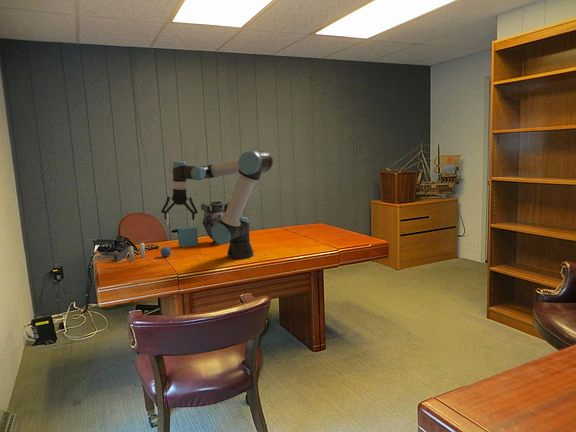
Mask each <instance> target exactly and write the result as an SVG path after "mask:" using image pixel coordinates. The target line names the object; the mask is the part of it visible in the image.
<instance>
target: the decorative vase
mask: <svg viewBox="0 0 576 432" xmlns="http://www.w3.org/2000/svg"><path fill="white" fill-rule="evenodd" d="M229 202H230V201H229ZM229 202H227V203H224V202H223V201H212V202H210V204H207V203H201V204H200V208H201V209H200V210H202V211H204V212H203V221H202V226H203V227H204V229H205V232H206V234H207V235H208V237H209V238H210V239H211V240H213V241H211V243H212V245H215V244H219V243H217V242H216V241H215V240H214V239H213V236H212V233H211V231H212V227H213V226H214V225H215V224H217V223H218V222H219V219H220V217H221V216H222V215H224V214H225V212H226V209H227V207H228V204H229ZM223 206H224V207H223ZM219 245H220V244H219Z"/></svg>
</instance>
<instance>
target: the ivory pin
mask: <svg viewBox="0 0 576 432" xmlns="http://www.w3.org/2000/svg"><path fill="white" fill-rule="evenodd" d="M139 249H140V258H142V259H144V258H146V250H145V249H146V248H145V242H140V243H139Z"/></svg>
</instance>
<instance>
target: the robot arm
mask: <svg viewBox="0 0 576 432" xmlns="http://www.w3.org/2000/svg"><path fill="white" fill-rule="evenodd" d="M187 164H188V163H187V162H186V161H183V160H182V161H181V160H179V161H177V160H176V161H173V163H172V188H173V189H172V196H167V197H166V201H165V204H164V205H163V207H162V209H161V211H160V212H161V213H162V214H163V215H164V220H166V223H165V224H166V226H168V225H169V223H170V222H169V211H170V210H171V209H172V208H173V207H174V206H175V205H176V206H179V205H180V206H183V205H184V206H185V208H187V210H188V211H189V212H190V213H191V214H190V227H193V221H194V220H195V214H198V213H199V211H198V210H197V208H196V206H195V203H194V201H193V197H192V196H190V197H188V196H187V180H193V181H194V180H195V181H203V180H205V179H213V178H218V177H224V176H230V175H236V174H239V176H238V179H237V182H236V184H235V187H234V189H233V192H232V194H231V197H230V200H229V204H228V207H227V209H226V212H225V214H224V215H222V216H221V217H220V219H219V222H218V223H217V224H215V225H214V226H213V227H212V231H211V233H212V236H213V239H214V240H215V241H216V242H217V243H219V245H226V244H227V245H228V244H229V245H228V249H227V252H226V254H227V255H226V257H227V258H229V259H233V260H239V259H240V260H242V259H248V258H249V259H250V258H251V257H254V250H253V248H252V245H251V239H250V238H251V236H250V222H249V218H248V217H246V216H242V214H243V212H244V209H245V207H246V205H247V202H248V199H249V197H250V195H251V192H252V190H253V187H254V185H255V184H256V182H258V181H260V178H261V176H262V174H263V173H266V172H269V171H270V170H271V169H272V167H273V165H274V160H273V156H272V154H271V153H269V152H268V151H266V150H248V151H244V152H243V153H241V155H240V156H239V158H238V159H233V160H229V161H223V162H218V163H214V164H208V165H187ZM171 200H172V203H171V205H170V206H168V205H169V202H170V201H171ZM187 201H188V202H189V203H190V205H191V206H190V205H189V204H188V203H187ZM213 239H212V240H213ZM214 240H213V241H214Z"/></svg>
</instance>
